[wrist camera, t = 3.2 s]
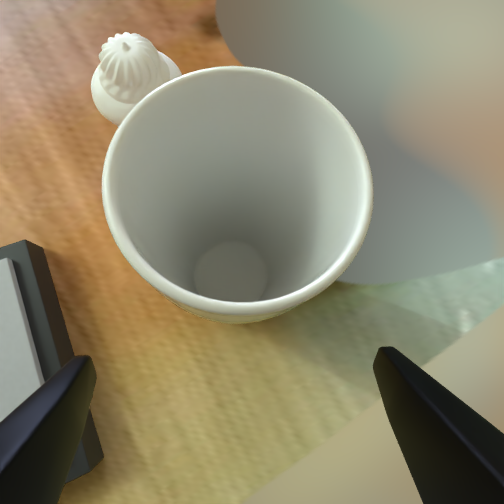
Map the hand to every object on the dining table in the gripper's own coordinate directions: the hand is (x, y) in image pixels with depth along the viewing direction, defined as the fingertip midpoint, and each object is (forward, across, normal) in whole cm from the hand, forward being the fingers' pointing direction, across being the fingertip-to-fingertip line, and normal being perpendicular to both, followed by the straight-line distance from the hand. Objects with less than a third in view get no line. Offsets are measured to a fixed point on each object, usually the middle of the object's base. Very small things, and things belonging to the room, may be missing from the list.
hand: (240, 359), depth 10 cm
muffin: (+20, +6, -4) cm, 22 cm away
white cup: (+11, 0, +5) cm, 12 cm away
